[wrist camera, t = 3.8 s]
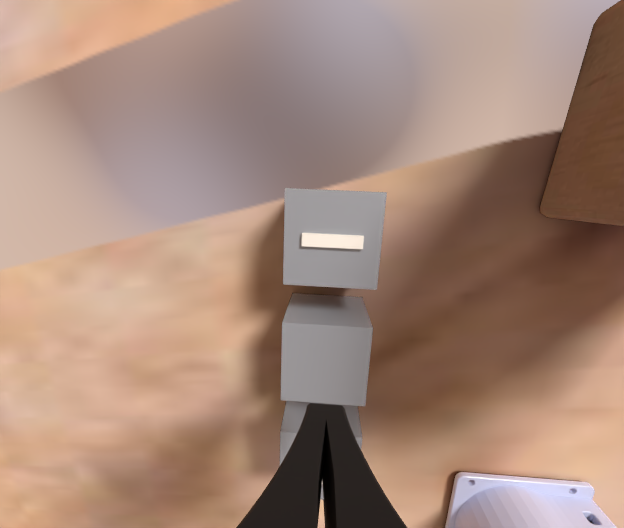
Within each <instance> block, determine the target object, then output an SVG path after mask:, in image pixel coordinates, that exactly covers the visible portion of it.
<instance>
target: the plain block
mask: <svg viewBox="0 0 624 528" xmlns="http://www.w3.org/2000/svg"><path fill="white" fill-rule="evenodd" d="M372 333H373V327H372V324H371V321H370V318H369V315H368V312H367V309H366V306H365V304H364V301H363V298H362V297H350V296H333V295H316V294H298V293H292V296H291V299H290V302H289V305H288V307H287V310H286V313H285V316H284V319H283V321H282V355H281V400H284V401H298V402H312V403H326V404H340V405H353V406H365V403H366V393H367V383H368V373H369V363H370V353H371V343H372Z"/></svg>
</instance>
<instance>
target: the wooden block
mask: <svg viewBox="0 0 624 528" xmlns="http://www.w3.org/2000/svg"><path fill="white" fill-rule="evenodd" d="M540 213H542V214H543V215H545V216H547V217H549V218H558V219H567V220H575V221H584V222H592V223H601V224H610V225H618V226H624V0H621V1H619V2H618V3H616V4H615V5H613V6H612V7H610V8H609V9H607V10H606V11H604V12H603V13H602V14H601V15H600V16H599V17H598V19H597V20H596V22H595V24H594V25H593V29H592V32H591V36H590V39H589V43H588V46H587V49H586V52H585V56H584V59H583V62H582V66H581V69H580V73H579V76H578V80H577V83H576V86H575V90H574V93H573V96H572V100H571V103H570V107H569V110H568V113H567V117H566V120H565V123H564V127H563V130H562V134H561V137H560V140H559V144H558V147H557V151H556V154H555V157H554V161H553V164H552V168H551V171H550V174H549V178H548V181H547V185H546V188H545V191H544V195H543V198H542V202H541V205H540Z"/></svg>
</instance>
